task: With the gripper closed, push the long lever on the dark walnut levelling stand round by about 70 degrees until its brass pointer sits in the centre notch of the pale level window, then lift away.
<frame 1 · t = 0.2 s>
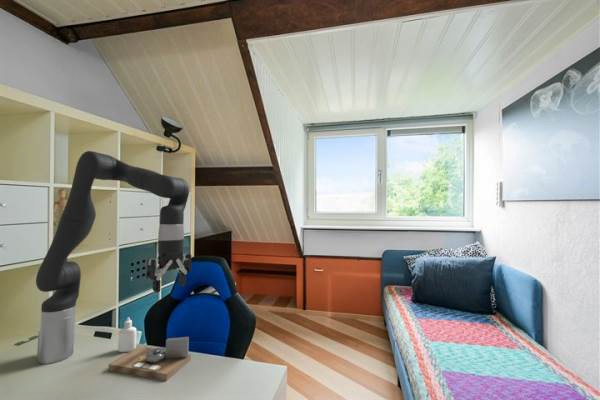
hand: (169, 288, 86), 28 cm above the table, fingers open, 8 cm apart
lever: (163, 348, 91), point 5 cm above the table, hinge at -65.0°
eye dropper bottle: (127, 350, 100), on the table
stand: (151, 364, 91), on the table
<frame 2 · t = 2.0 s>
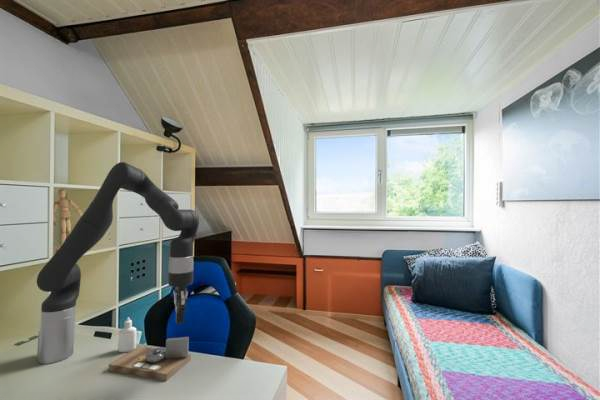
hand: (179, 323, 88), 16 cm above the table, fingers closed
nothing on the table moved.
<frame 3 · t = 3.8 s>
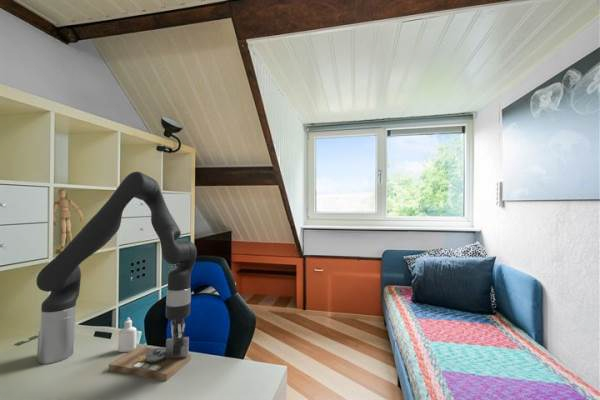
hand: (176, 354, 89), 5 cm above the table, fingers closed
lever: (163, 348, 91), point 5 cm above the table, hinge at -64.9°, touching gripper
everything else where it was.
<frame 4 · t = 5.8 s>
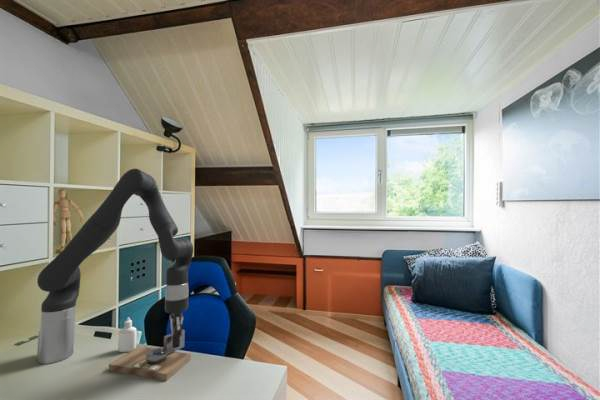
hand: (175, 346, 93), 5 cm above the table, fingers closed
lever: (163, 346, 93), point 5 cm above the table, hinge at -18.6°, touching gripper
everything else where it was.
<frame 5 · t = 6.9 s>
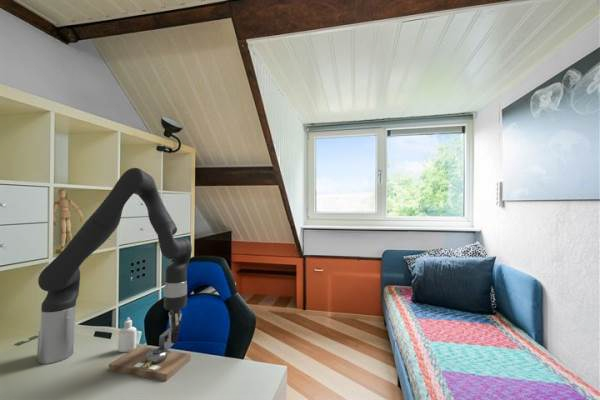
hand: (174, 341, 97), 5 cm above the table, fingers closed
lever: (160, 346, 93), point 5 cm above the table, hinge at 11.0°, touching gripper
everything else where it was.
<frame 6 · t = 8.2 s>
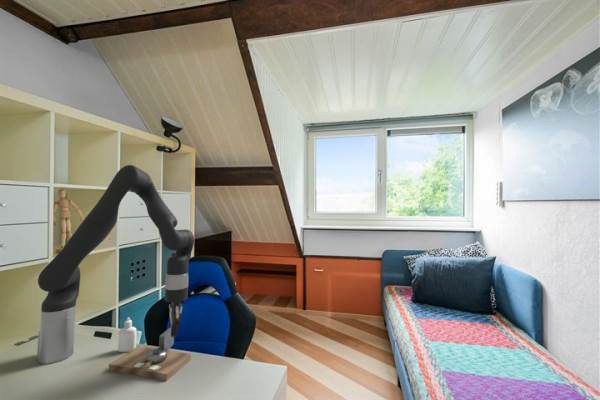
hand: (174, 335, 95), 9 cm above the table, fingers closed
lever: (160, 346, 93), point 5 cm above the table, hinge at 11.2°
everything else where it was.
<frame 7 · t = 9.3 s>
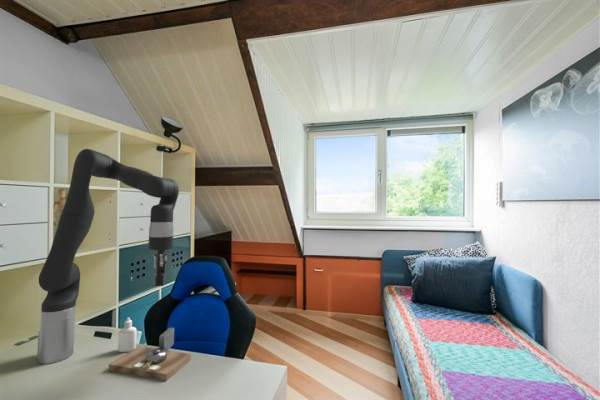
hand: (159, 285, 92), 27 cm above the table, fingers closed
nothing on the table moved.
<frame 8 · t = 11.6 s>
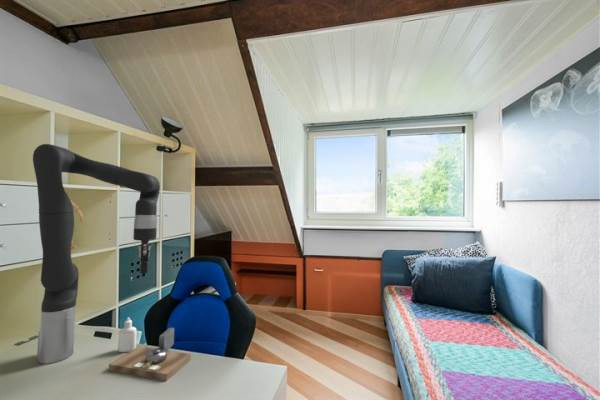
hand: (143, 273, 100), 29 cm above the table, fingers closed
nothing on the table moved.
at the end: lever at +11° (first picture: -65°) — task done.
